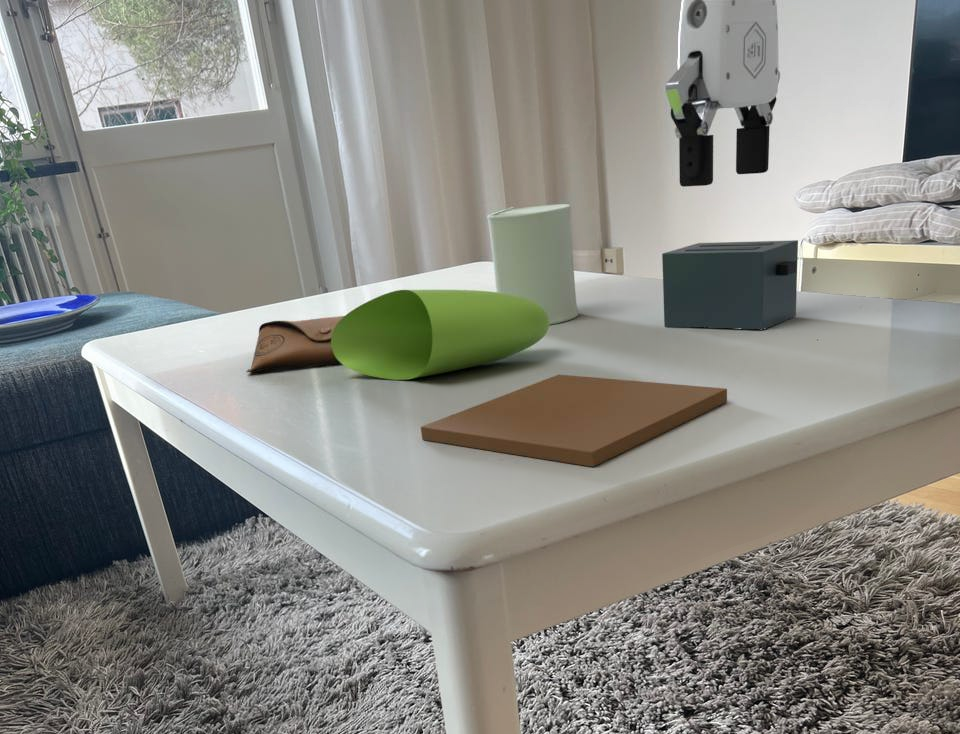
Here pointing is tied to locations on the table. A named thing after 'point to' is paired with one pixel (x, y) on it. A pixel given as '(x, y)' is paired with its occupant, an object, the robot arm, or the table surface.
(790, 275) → the toaster
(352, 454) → the table surface
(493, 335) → the green curved sheet
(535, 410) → the mat
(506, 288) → the can
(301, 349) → the sunglasses case
